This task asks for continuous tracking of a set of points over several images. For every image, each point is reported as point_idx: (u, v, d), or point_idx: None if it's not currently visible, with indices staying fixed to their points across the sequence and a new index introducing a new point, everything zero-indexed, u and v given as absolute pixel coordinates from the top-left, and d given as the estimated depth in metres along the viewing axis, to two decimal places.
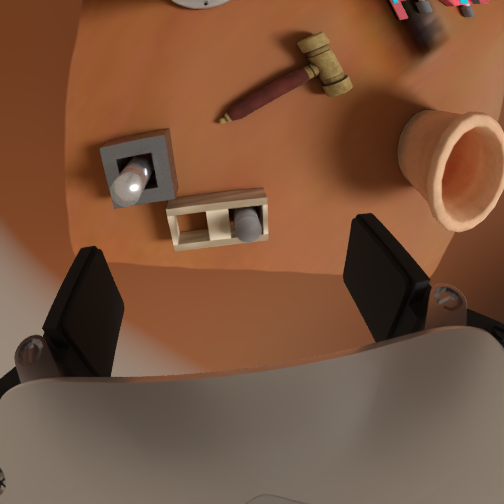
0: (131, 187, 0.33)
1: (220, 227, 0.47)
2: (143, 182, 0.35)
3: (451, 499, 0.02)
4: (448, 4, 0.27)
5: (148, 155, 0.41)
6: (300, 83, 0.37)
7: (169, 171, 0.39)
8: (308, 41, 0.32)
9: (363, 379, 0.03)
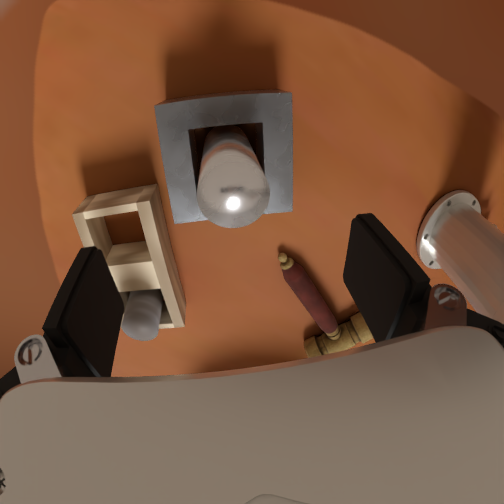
0: (243, 211, 0.16)
1: (128, 279, 0.28)
2: None
3: (451, 499, 0.02)
4: None
5: None
6: (322, 328, 0.38)
7: None
8: (367, 330, 0.38)
9: (363, 379, 0.03)
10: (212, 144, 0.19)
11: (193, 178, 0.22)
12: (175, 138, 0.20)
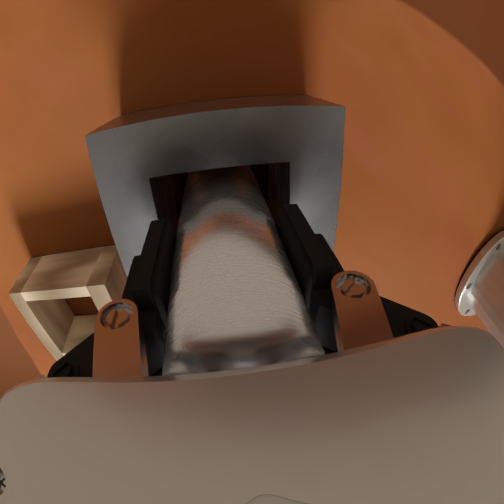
0: None
1: None
2: None
3: (451, 499, 0.02)
4: None
5: None
6: None
7: None
8: None
9: (363, 379, 0.03)
10: (194, 213, 0.10)
11: None
12: (127, 194, 0.11)
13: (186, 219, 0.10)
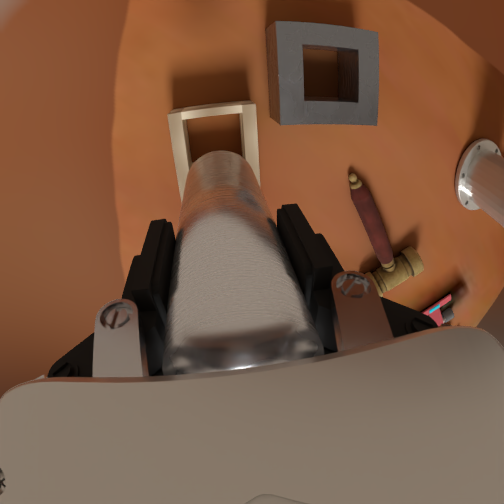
0: None
1: None
2: None
3: (451, 499, 0.02)
4: None
5: None
6: (381, 257, 0.39)
7: (326, 122, 0.25)
8: (419, 261, 0.39)
9: (363, 379, 0.03)
10: (194, 210, 0.10)
11: (303, 84, 0.22)
12: (291, 49, 0.20)
13: (186, 216, 0.10)
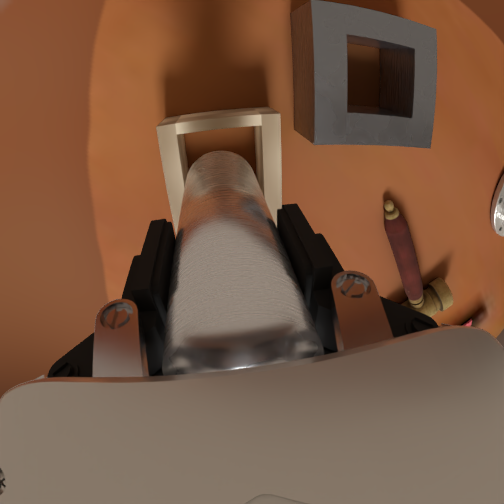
0: None
1: None
2: None
3: (451, 499, 0.02)
4: None
5: None
6: (411, 293, 0.32)
7: (373, 143, 0.18)
8: (449, 296, 0.32)
9: (363, 379, 0.03)
10: (194, 210, 0.10)
11: (346, 90, 0.16)
12: (332, 39, 0.14)
13: (186, 216, 0.10)
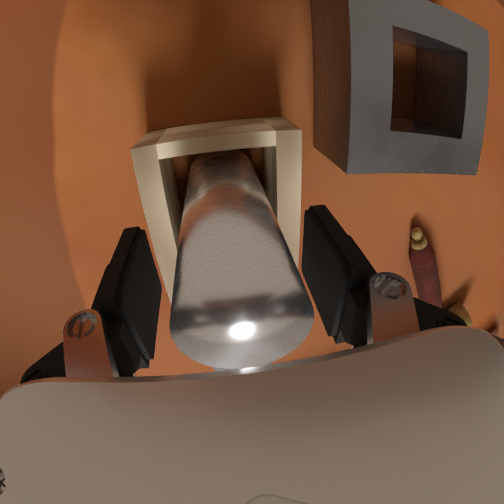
0: (261, 348, 0.08)
1: None
2: None
3: (451, 499, 0.02)
4: None
5: None
6: None
7: (417, 170, 0.13)
8: (469, 323, 0.27)
9: (364, 379, 0.03)
10: (198, 194, 0.11)
11: (390, 100, 0.11)
12: (374, 30, 0.09)
13: (191, 200, 0.11)
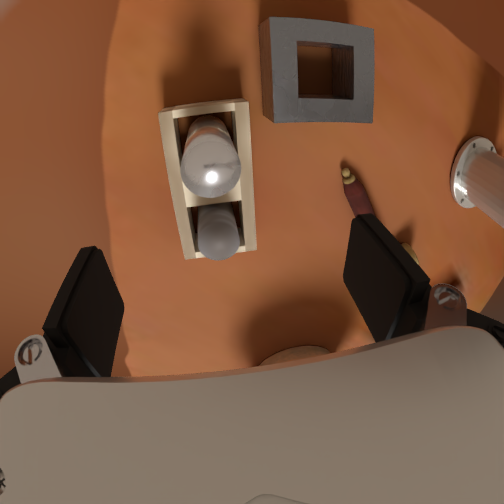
0: (219, 183, 0.19)
1: None
2: None
3: (451, 499, 0.02)
4: None
5: None
6: None
7: (321, 120, 0.24)
8: (414, 258, 0.38)
9: (364, 379, 0.03)
10: (194, 131, 0.22)
11: (297, 81, 0.22)
12: (285, 45, 0.20)
13: (190, 134, 0.22)
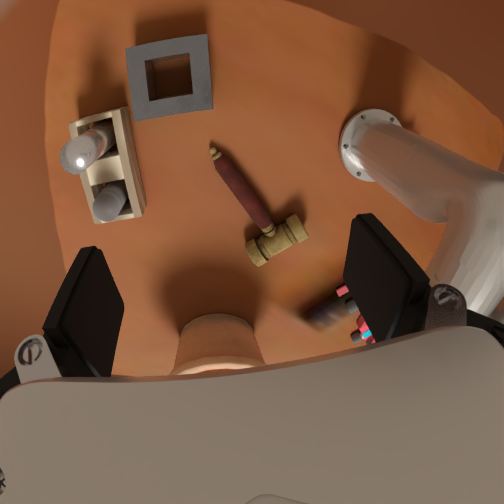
0: (80, 165, 0.27)
1: (101, 172, 0.35)
2: None
3: (451, 499, 0.02)
4: (358, 323, 0.67)
5: (115, 141, 0.36)
6: (256, 221, 0.45)
7: (168, 114, 0.32)
8: (299, 226, 0.45)
9: (363, 380, 0.03)
10: None
11: (147, 90, 0.29)
12: (136, 66, 0.27)
13: None
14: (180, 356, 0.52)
